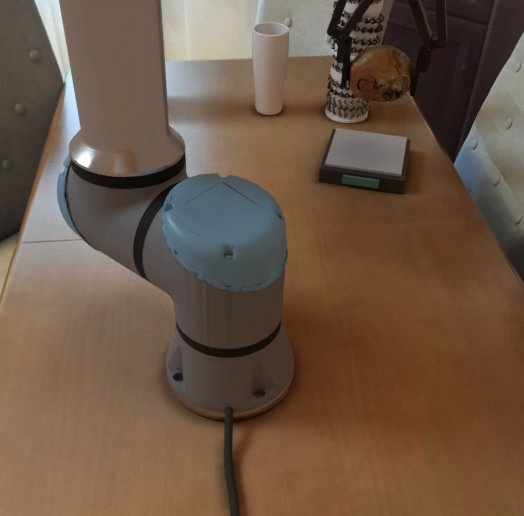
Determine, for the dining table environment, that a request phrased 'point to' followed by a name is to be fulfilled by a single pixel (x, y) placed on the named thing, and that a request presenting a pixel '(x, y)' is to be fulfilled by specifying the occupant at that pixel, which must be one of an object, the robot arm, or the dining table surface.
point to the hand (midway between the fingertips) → (378, 88)
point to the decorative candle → (364, 34)
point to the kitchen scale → (365, 160)
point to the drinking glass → (269, 65)
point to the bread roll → (380, 74)
